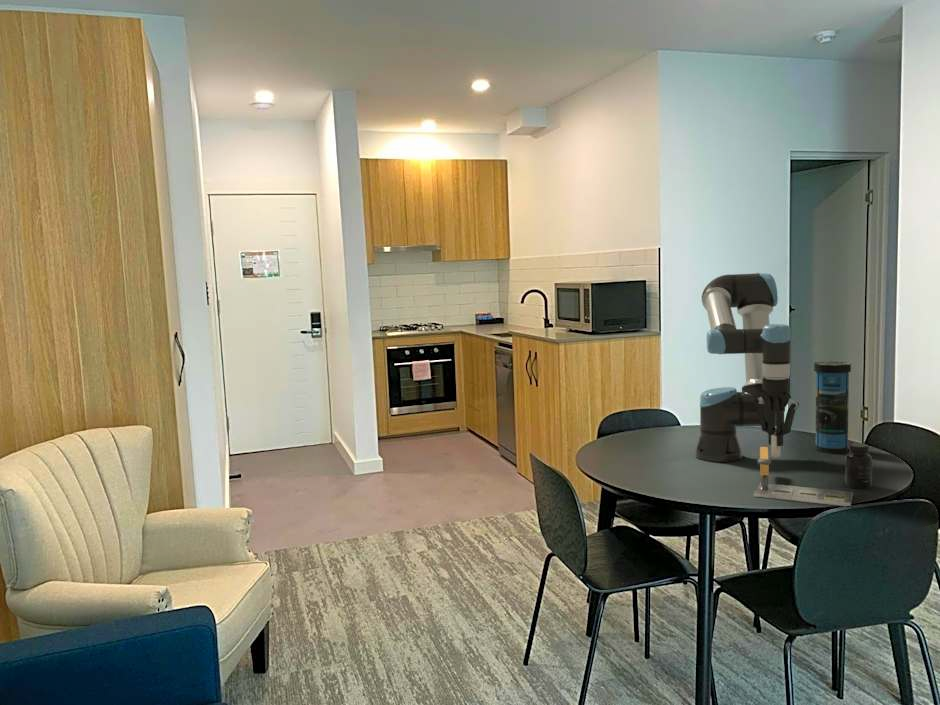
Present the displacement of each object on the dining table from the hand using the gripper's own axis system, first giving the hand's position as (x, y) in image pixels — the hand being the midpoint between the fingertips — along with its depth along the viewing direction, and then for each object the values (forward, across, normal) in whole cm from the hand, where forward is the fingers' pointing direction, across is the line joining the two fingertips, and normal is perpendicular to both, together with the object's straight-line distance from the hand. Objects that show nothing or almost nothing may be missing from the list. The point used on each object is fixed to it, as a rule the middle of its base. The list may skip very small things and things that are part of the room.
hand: (775, 456), depth 218 cm
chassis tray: (+8, -12, +8) cm, 17 cm away
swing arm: (+2, +2, +4) cm, 5 cm away
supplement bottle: (+8, -19, -11) cm, 23 cm away
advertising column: (+9, +5, -48) cm, 49 cm away
